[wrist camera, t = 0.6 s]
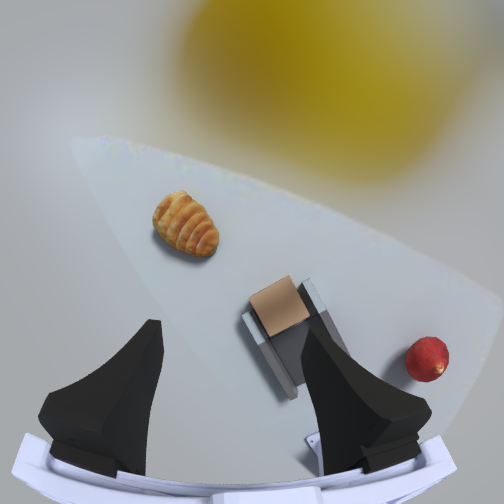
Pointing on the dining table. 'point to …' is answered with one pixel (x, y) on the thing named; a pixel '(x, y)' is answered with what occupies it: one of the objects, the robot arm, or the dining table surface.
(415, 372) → the pomegranate
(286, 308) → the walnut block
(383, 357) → the dining table surface
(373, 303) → the dining table surface
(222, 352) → the dining table surface
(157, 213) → the pastry
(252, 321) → the grey i-beam block
